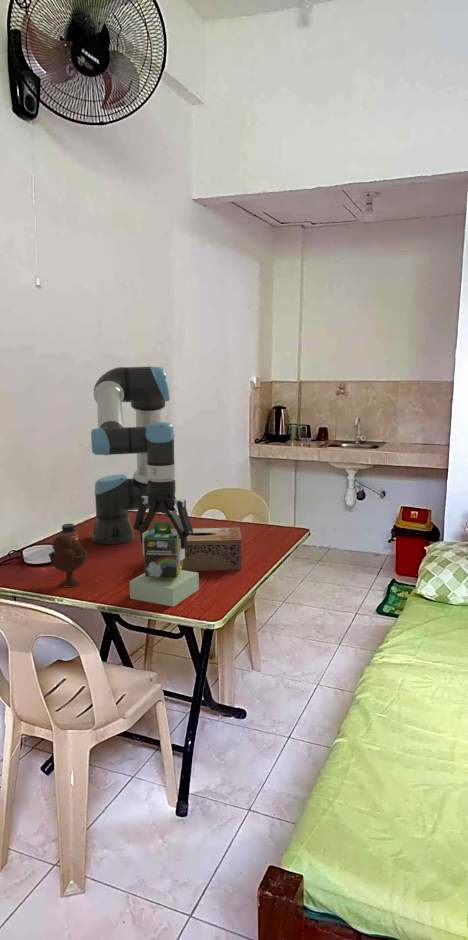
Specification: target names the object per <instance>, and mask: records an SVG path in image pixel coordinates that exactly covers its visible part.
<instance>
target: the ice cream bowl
mask: <svg viewBox="0 0 468 940" xmlns="http://www.w3.org/2000/svg"><path fill="white" fill-rule="evenodd" d="M51 545H52V548H53V551H51V552H50V553H49V554H48V556H49V560H50V562H51V564H52V566H53V567H54V568H55V569H57V570H58V571H61V572H65V574H66V579H64V580H62V581H61V582H60V584H61V585H62V586H74V587H77V586H78V584H79V585H80V582H79V579H75V578H74V577H73V572H74V571H76V570H78V569H80V567H82V566H83V564H85V563H86V561H87V557H88V551H87V550H86V549H84V546H83V544H82V543H81V542H80V541H79V539H78V540H76V539H72V538H70V537H69V536H65V535H62V536H60V535H59V536H56V537H55V538H54V540H53V541H52V544H51ZM61 585H60V586H61ZM76 585H77V586H76Z"/></svg>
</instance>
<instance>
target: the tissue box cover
mask: <svg viewBox="0 0 468 940" xmlns="http://www.w3.org/2000/svg"><path fill="white" fill-rule="evenodd" d="M192 529H193V534H191V535H189V536H187V548H185V558H184V559H183V568H182V569H181V570H184V571H191V572H200V571H201V572H202V571H203V572H205V571H206V572H207V571H210V572H211V571H242V567H243V566H242V564H243V563H242V535H241V528H240V527H199V528H196V527H192Z"/></svg>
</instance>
